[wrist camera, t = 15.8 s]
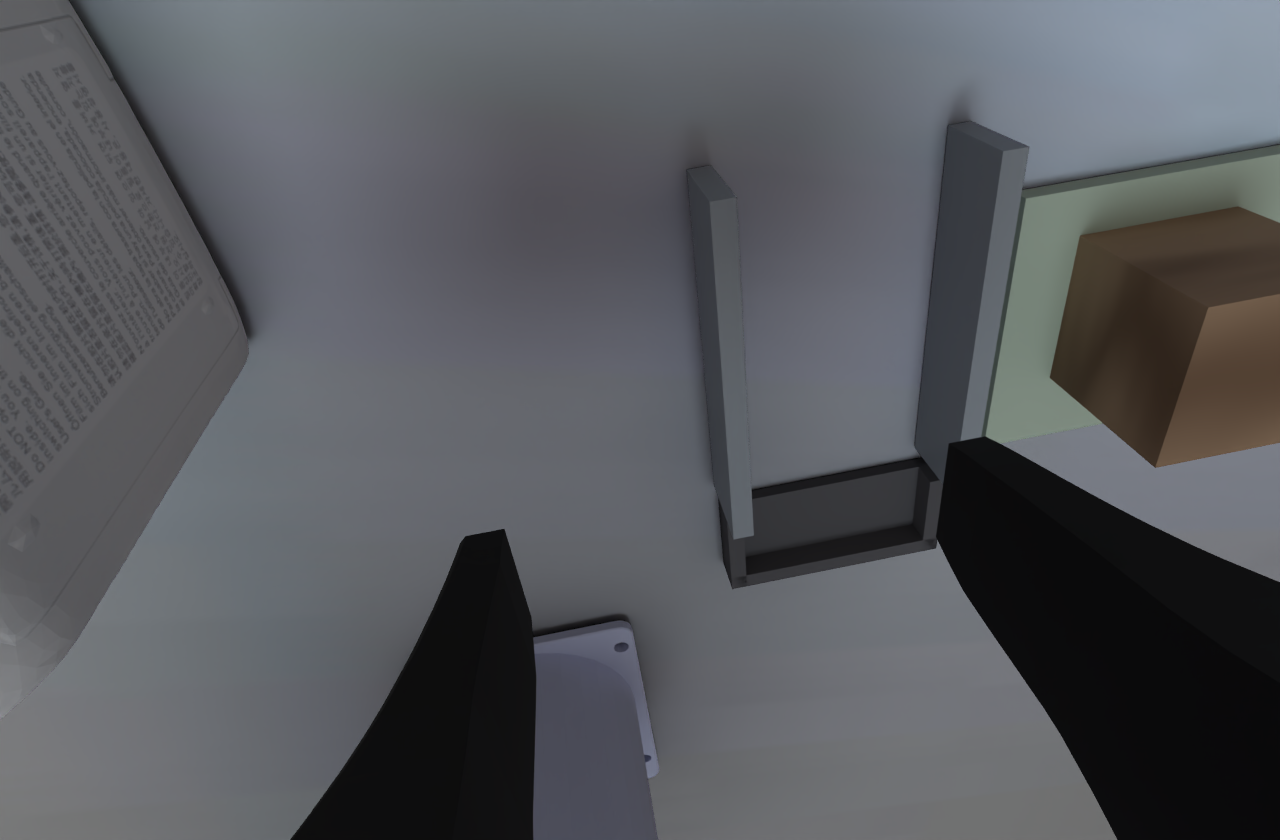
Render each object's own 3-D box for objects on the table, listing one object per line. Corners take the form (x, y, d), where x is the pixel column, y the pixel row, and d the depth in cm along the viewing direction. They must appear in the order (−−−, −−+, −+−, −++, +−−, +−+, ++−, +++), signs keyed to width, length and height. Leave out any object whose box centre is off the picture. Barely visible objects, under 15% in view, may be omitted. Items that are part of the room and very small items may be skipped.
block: (1191, 350, 23) (1322, 434, 19) (1049, 377, 23) (1155, 467, 19) (1238, 206, 20) (1400, 270, 17) (1079, 235, 20) (1208, 307, 17)
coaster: (1207, 390, 25) (1222, 400, 24) (974, 435, 24) (983, 446, 24) (1298, 141, 20) (1317, 147, 20) (1012, 191, 20) (1025, 198, 19)
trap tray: (919, 524, 26) (936, 548, 25) (723, 563, 26) (732, 589, 25) (927, 456, 25) (945, 479, 24) (718, 497, 24) (727, 521, 23)
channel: (932, 443, 24) (971, 492, 22) (714, 485, 24) (733, 539, 22) (971, 120, 19) (1029, 146, 17) (686, 169, 18) (709, 201, 16)
